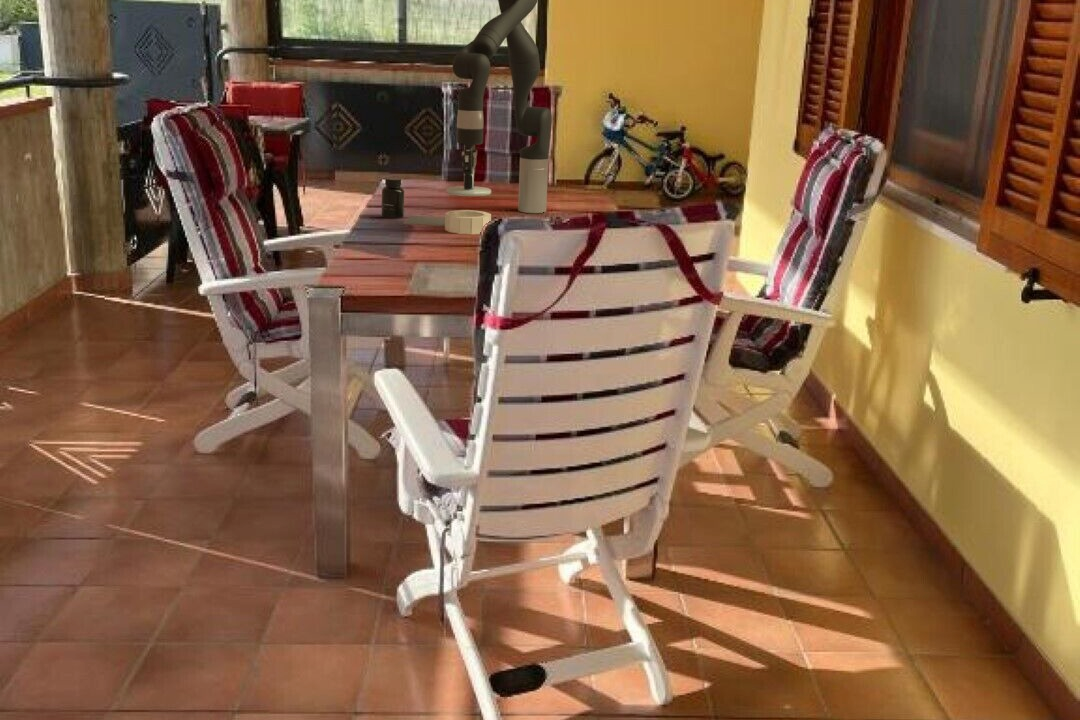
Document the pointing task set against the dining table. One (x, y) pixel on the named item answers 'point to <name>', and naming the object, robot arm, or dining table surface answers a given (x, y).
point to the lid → (468, 190)
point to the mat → (425, 221)
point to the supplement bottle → (393, 199)
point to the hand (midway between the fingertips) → (468, 187)
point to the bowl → (466, 221)
